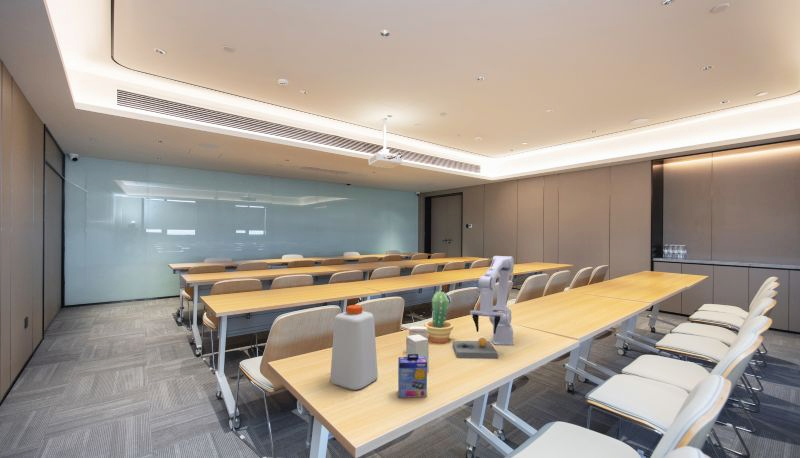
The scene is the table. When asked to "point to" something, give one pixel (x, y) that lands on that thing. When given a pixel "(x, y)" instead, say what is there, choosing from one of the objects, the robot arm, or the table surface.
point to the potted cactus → (439, 318)
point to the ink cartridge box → (412, 376)
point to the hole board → (474, 350)
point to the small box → (417, 346)
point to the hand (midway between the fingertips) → (486, 332)
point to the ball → (482, 342)
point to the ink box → (418, 331)
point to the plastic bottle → (354, 349)
